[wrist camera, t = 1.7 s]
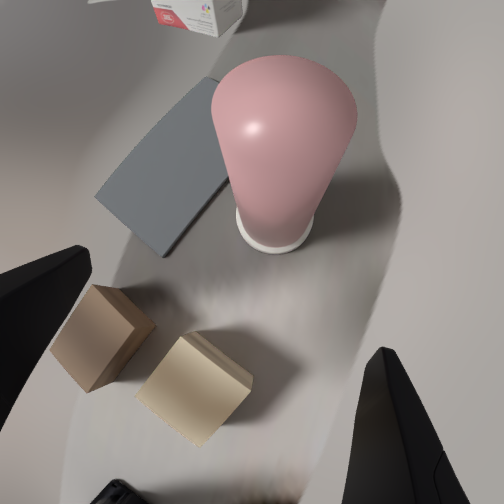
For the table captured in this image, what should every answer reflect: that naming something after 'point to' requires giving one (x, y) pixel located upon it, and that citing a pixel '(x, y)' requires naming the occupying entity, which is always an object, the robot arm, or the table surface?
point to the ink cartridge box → (199, 14)
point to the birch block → (195, 388)
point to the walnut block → (101, 337)
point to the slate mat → (169, 173)
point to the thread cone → (281, 144)
